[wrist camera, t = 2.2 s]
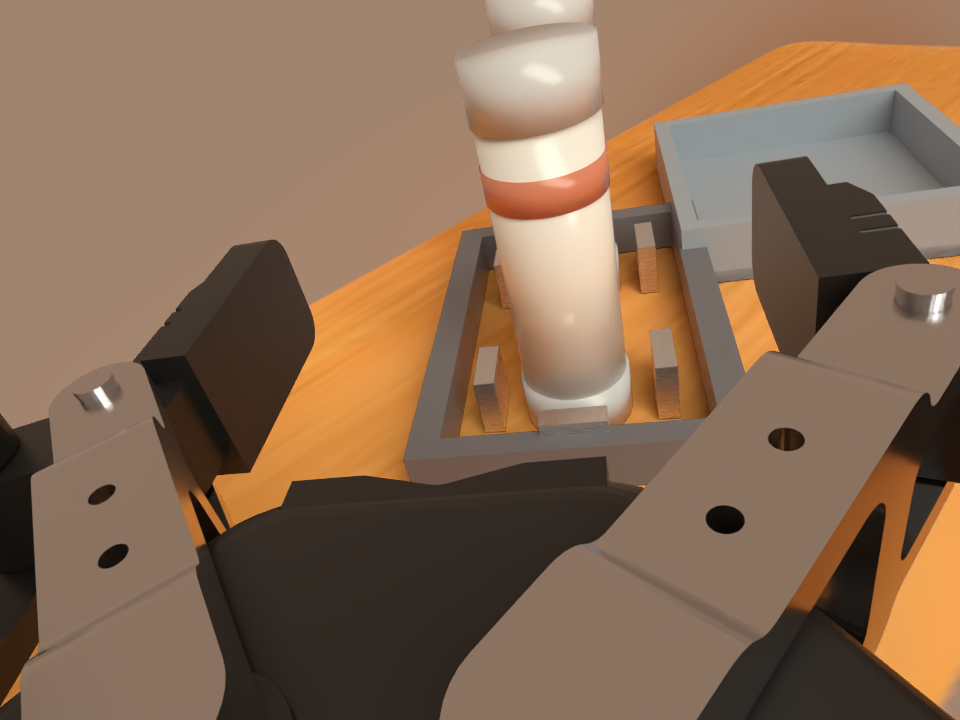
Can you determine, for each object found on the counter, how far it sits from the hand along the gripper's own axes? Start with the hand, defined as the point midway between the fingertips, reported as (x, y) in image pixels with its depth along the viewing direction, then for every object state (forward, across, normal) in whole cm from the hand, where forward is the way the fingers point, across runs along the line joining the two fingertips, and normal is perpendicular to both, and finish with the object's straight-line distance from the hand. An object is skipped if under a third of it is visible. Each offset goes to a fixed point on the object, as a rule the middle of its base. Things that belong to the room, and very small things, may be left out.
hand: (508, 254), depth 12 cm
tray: (+27, -12, +13) cm, 32 cm away
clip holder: (+16, 0, +13) cm, 21 cm away
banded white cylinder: (+12, 0, +13) cm, 18 cm away
